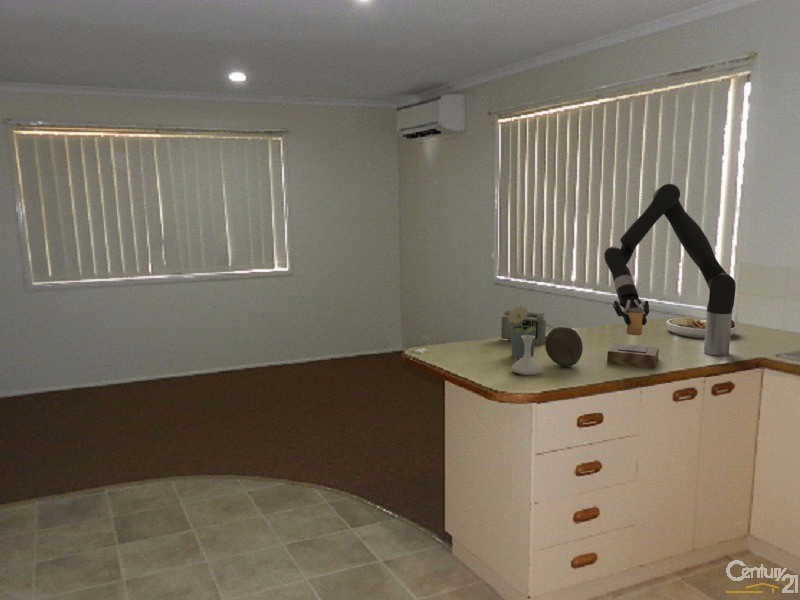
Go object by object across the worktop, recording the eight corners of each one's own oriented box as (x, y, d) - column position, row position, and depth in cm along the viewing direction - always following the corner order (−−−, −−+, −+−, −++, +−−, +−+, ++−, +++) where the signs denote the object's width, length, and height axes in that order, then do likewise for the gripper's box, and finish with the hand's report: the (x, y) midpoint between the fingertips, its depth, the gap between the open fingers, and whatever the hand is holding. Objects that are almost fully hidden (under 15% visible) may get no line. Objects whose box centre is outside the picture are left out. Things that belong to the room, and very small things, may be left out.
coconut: (586, 364, 241) (587, 326, 239) (576, 372, 229) (578, 332, 227) (550, 359, 248) (551, 322, 246) (538, 367, 236) (540, 328, 234)
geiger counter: (500, 310, 282) (556, 314, 270) (504, 308, 287) (559, 312, 276) (499, 340, 284) (554, 346, 272) (504, 337, 289) (558, 343, 278)
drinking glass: (516, 360, 248) (517, 330, 246) (505, 354, 257) (506, 325, 256) (539, 358, 250) (540, 329, 249) (527, 352, 260) (528, 324, 258)
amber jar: (642, 333, 245) (644, 307, 244) (641, 335, 240) (642, 310, 238) (627, 331, 248) (628, 306, 246) (625, 334, 243) (626, 308, 241)
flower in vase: (538, 369, 234) (540, 303, 230) (546, 377, 223) (549, 308, 219) (503, 369, 234) (505, 303, 230) (510, 378, 222) (511, 308, 219)
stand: (658, 359, 249) (658, 346, 248) (654, 368, 234) (655, 354, 234) (613, 354, 256) (613, 341, 255) (607, 363, 242) (607, 350, 241)
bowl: (669, 338, 289) (670, 321, 288) (663, 326, 317) (664, 310, 316) (742, 342, 280) (743, 325, 279) (729, 329, 309) (730, 313, 307)
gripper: (611, 283, 248) (621, 318, 238) (646, 283, 249) (658, 318, 239) (605, 294, 254) (615, 329, 244) (640, 294, 255) (651, 329, 245)
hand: (636, 323), depth 241 cm, fingers closed on amber jar, 5 cm apart
